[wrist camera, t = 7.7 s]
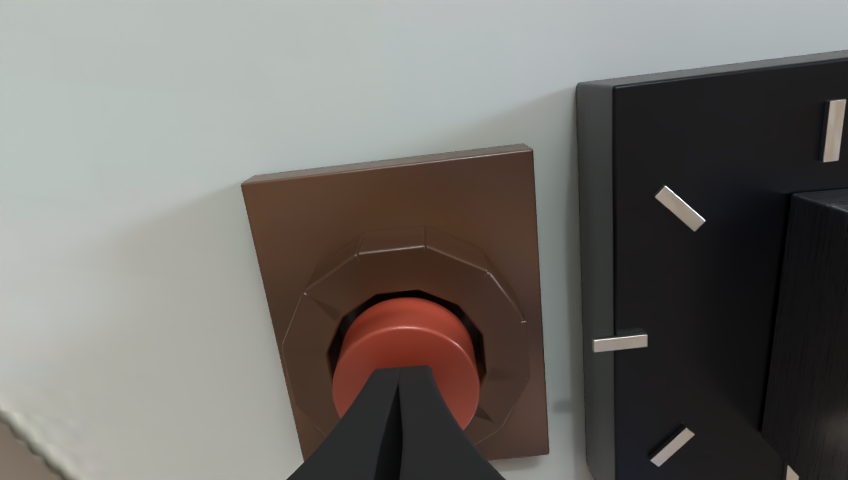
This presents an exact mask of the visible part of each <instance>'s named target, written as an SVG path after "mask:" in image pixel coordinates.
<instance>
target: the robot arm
mask: <svg viewBox="0 0 848 480" xmlns="http://www.w3.org/2000/svg"><path fill="white" fill-rule="evenodd" d="M286 480H505V479H504V478H503V477H502V476H501V475H500V474H499V472H498V471H497V470H496V469H495V468H494V467H493V466H492V465H491V464H490V463H489V462H488V461H487V460H486V459H485V458H484V456H483V455H482V454H481V453H480V452H479V451H478V449H477V448H476V447H475V446H474V445H473V443H472V442H471V441H470V439H469V438H468V437H467V435H466V434H465V433H464V431H463V430H462V428H461V427H460V426H459V424H458V422H457V421H456V419H455V418H454V416H453V415H452V413H451V411H450V410H449V408H448V406H447V405H446V403H445V401H444V399H443V397H442V395H441V393H440V391H439V389H438V387H437V384H436V382H435V379H434V376H433V372H432V369H431V368H430V367H429V366H428V365H420V366H407V367H394V368H382V369H375V370H374V371H373V372H372V373H371V375H370V376H369V378H368V380H367V381H366V383H365V384H364V386H363V388H362V389H361V391H360V392H359V394H358V395H357V397H356V398H355V400H354V401H353V403H352V404H351V406H350V407H349V408H348V410H347V411H346V412H345V414H344V415H343V417H342V418H341V419H340V421H339V422H338V423H337V425H336V426H335V427H334V428H333V430H332V431H331V432H330V433H329V435H328V436H327V437H326V438H325V439H324V441H323V442H322V443H321V444H320V445H319V447H318V448H317V449H316V450H315V451H314V452H313V453H312V454H311V455H310V457H309V458H308V459H307V460H306V461H305V462H304V463H303V464H302V465H301V466H300V467H299V468H298V469H297V470H296V471H295V472H294V473H293V474H292V475H291V476H290V477H289V478H288V479H286Z"/></svg>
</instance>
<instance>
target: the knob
mask: <svg viewBox="0 0 848 480" xmlns="http://www.w3.org/2000/svg"><path fill="white" fill-rule="evenodd" d="M761 436H762V438H763V439H764V440H765V441H766V442H767V443H768V444H769V445H770V446H771V447H772V449H773V450H774V451H775V452H776V453H777V454H778V455H779V456H780V457H781V458H782V459H783V460H784V461H785V462H786V463H787V465H788V466H789V467H790V468H791V469H792V470H793V471H794V472H795V473H796V474H797V475H798V476H799V477H800V478H801V479H802V480H848V189H838V190H827V191H816V192H804V193H795V194H792V196H791V202H790V210H789V218H788V226H787V234H786V242H785V250H784V257H783V265H782V273H781V281H780V289H779V297H778V305H777V313H776V321H775V328H774V336H773V344H772V352H771V360H770V368H769V376H768V384H767V392H766V399H765V407H764V415H763V423H762V431H761Z"/></svg>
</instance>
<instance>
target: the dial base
mask: <svg viewBox="0 0 848 480" xmlns="http://www.w3.org/2000/svg"><path fill="white" fill-rule="evenodd" d="M576 92H577V128H578V165H579V201H580V238H581V274H582V311H583V347H584V384H585V421H586V457H587V464H588V466H589V468H590V471H591V473H592V475H593V478H594V480H802V479H801V478H800V477H799V476H798V475H797V474H796V473H795V472H794V471H793V470H792V469H791V468H790V467H789V466H788V465H787V463H786V462H785V461H784V460H783V459H782V458H781V457H780V456H779V455H778V454H777V453H776V452H775V451H774V450H773V449H772V447H771V446H770V445H769V444H768V443H767V442H766V441H765V440H764V439H763V438H762V436H761V431H762V423H763V415H764V407H765V399H766V392H767V384H768V376H769V368H770V360H771V352H772V344H773V336H774V328H775V321H776V313H777V305H778V297H779V289H780V281H781V273H782V265H783V257H784V250H785V242H786V234H787V226H788V218H789V210H790V202H791V196H792V194H795V193H804V192H816V191H827V190H838V189H848V50H842V51H834V52H826V53H818V54H809V55H801V56H793V57H785V58H777V59H768V60H760V61H752V62H744V63H736V64H728V65H719V66H711V67H703V68H695V69H687V70H678V71H670V72H662V73H654V74H646V75H637V76H629V77H621V78H613V79H605V80H596V81H588V82H580V83H578V84H577V86H576Z"/></svg>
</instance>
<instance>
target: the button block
mask: <svg viewBox="0 0 848 480" xmlns="http://www.w3.org/2000/svg"><path fill="white" fill-rule="evenodd" d="M241 188H242V193H243V197H244V201H245V206H246V210H247V214H248V219H249V223H250V228H251V232H252V236H253V241H254V245H255V249H256V254H257V258H258V263H259V267H260V271H261V276H262V280H263V284H264V289H265V293H266V298H267V302H268V306H269V311H270V315H271V319H272V324H273V328H274V333H275V337H276V341H277V346H278V350H279V354H280V359H281V363H282V368H283V372H284V376H285V381H286V385H287V389H288V394H289V398H290V403H291V407H292V411H293V416H294V420H295V424H296V429H297V433H298V438H299V442H300V446H301V451H302V455H303V459H304V462H305V461H306V460H307V459H308V458H309V457H310V455H311V454H312V453H313V452H314V451H315V450H316V449H317V448H318V447H319V445H320V444H321V443H322V442H323V441H324V439H325V438H326V437H327V436H328V435H329V433H330V432H331V431H332V430H333V428H334V427H335V426H336V425H337V423H338V422H339V421H340V419H341V418H340V417H339V415H338V412H337V410H336V408H335V404H334V401H333V394H332V382H333V376H334V372H335V368H336V365H337V361H338V358H339V354H340V351H341V347H342V344H343V340H344V338H345V335H346V333H347V331H348V329H349V327H350V326H351V324H352V323H353V322H354V320H355V319H356V318H357V317H358V316H359V315H360V314H362V313H363V312H364V311H365V310H367V309H368V308H370V307H372V306H373V305H375V304H378V303H380V302H382V301H386V300H389V299H394V298H400V297H414V298H421V299H426V300H429V301H432V302H435V303H437V304H439V305H441V306H443V307H445V308H446V309H448V310H449V311H451V312H452V313H453V314H454V315H456V316H457V318H458V319H459V320H460V321H461V322H462V323H463V325H464V326H465V328H466V329H467V331H468V333H469V335H470V338H471V341H472V344H473V349H474V354H475V359H476V364H477V369H478V374H479V380H480V398H479V403H478V406H477V409H476V412H475V414H474V416H473V418H472V419H471V421H470V422H469V424H468V425H467V427H466V428H465V429H464V430H463V431H464V433H465V434H466V435H467V437H468V438H469V439H470V441H471V442H472V443H473V445H474V446H475V447H476V448H477V449H478V451H479V452H480V453H481V454H482V455H483V456H484V458H485V459H486V460H487V461H489V460H499V459H508V458H518V457H528V456H537V455H547V454H549V438H548V419H547V401H546V382H545V363H544V345H543V326H542V307H541V289H540V270H539V251H538V233H537V214H536V195H535V177H534V158H533V150H532V149H531V148H530V147H528V146H527V145H525V144H515V145H506V146H498V147H490V148H481V149H473V150H464V151H456V152H448V153H439V154H431V155H423V156H414V157H406V158H397V159H389V160H381V161H372V162H364V163H355V164H347V165H339V166H330V167H322V168H314V169H305V170H297V171H288V172H280V173H272V174H263V175H255V176H253V177H251V178H250V179H248V180H246V181H245V182H243V183H242V184H241Z"/></svg>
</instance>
